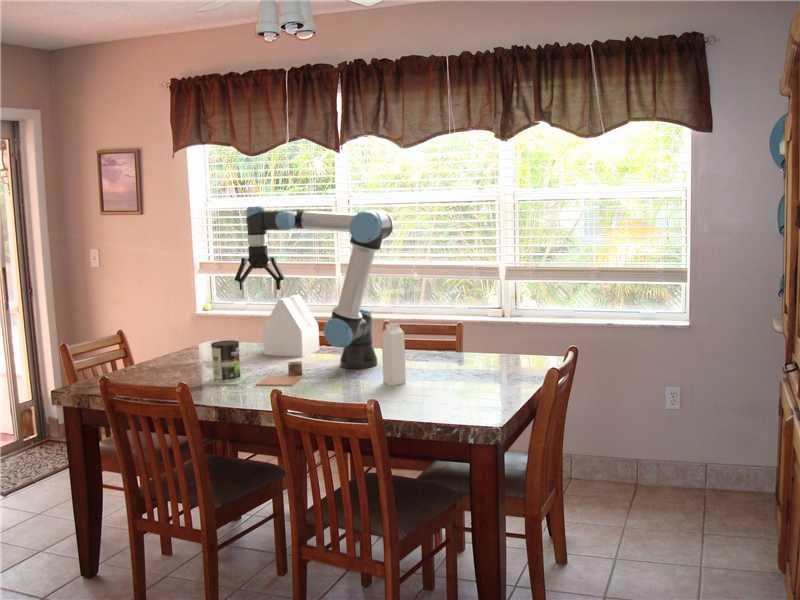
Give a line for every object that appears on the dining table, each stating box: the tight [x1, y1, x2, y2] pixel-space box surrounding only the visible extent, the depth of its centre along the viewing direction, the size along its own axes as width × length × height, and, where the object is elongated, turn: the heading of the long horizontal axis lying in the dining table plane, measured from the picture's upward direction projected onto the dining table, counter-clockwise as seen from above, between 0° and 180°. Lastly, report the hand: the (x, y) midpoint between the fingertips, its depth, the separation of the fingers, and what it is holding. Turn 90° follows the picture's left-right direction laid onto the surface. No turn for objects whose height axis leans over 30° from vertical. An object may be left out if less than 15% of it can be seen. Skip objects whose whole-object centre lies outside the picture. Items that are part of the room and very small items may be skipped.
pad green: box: [201, 374, 252, 386], centre depth 298 cm, size 14×14×1 cm
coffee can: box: [210, 339, 242, 382], centre depth 298 cm, size 10×10×14 cm
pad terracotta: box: [255, 374, 304, 387], centre depth 295 cm, size 14×14×1 cm
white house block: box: [262, 294, 320, 358], centre depth 348 cm, size 19×15×25 cm
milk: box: [381, 322, 407, 386], centre depth 285 cm, size 6×6×22 cm
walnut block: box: [287, 360, 303, 376], centre depth 304 cm, size 5×5×5 cm
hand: (260, 298), depth 316 cm, fingers open, 13 cm apart
